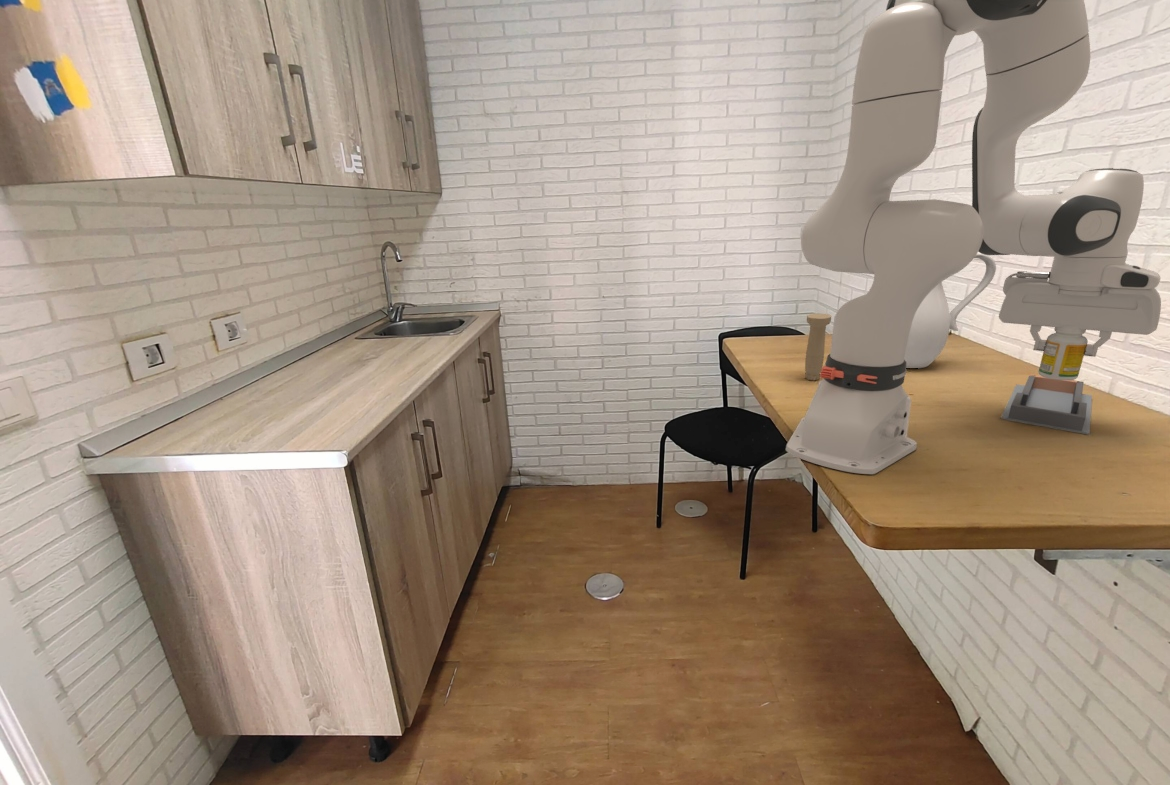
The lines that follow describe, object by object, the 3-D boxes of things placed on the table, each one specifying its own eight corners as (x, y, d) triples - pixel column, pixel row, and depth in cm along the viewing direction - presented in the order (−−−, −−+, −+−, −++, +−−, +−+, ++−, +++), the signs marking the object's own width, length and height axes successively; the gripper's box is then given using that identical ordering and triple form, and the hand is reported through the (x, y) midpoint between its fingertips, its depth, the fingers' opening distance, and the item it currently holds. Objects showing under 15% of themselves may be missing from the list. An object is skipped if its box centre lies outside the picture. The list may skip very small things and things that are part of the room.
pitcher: (867, 369, 128) (884, 253, 119) (862, 352, 143) (876, 247, 134) (984, 377, 119) (1012, 252, 110) (966, 358, 134) (989, 246, 125)
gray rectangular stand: (1089, 434, 89) (1093, 419, 88) (1000, 418, 97) (1004, 404, 96) (1091, 397, 105) (1095, 383, 104) (1016, 386, 113) (1019, 373, 112)
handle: (825, 376, 124) (833, 314, 119) (820, 384, 119) (827, 319, 114) (804, 374, 127) (810, 312, 122) (798, 381, 122) (804, 317, 117)
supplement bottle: (1034, 376, 94) (1047, 324, 91) (1041, 370, 97) (1054, 319, 94) (1074, 383, 90) (1088, 328, 87) (1080, 376, 93) (1095, 323, 90)
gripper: (1004, 272, 92) (988, 348, 97) (1174, 278, 79) (1146, 366, 83) (1009, 268, 96) (993, 341, 101) (1171, 273, 83) (1144, 357, 87)
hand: (1063, 352), depth 92 cm, fingers closed on supplement bottle, 5 cm apart
